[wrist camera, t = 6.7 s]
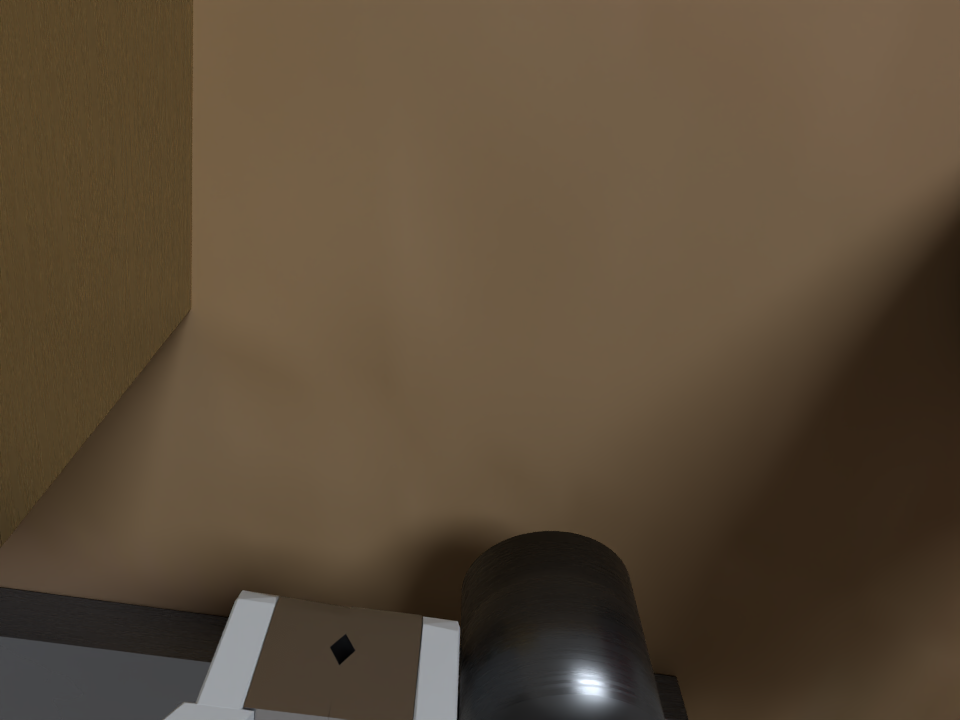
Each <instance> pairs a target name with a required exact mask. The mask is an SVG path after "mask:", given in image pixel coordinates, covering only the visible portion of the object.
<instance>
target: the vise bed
mask: <svg viewBox="0 0 960 720" xmlns="http://www.w3.org/2000/svg"><path fill="white" fill-rule="evenodd" d="M227 621H228V618H227V617H220V616H212V615H204V614H197V613H189V612H182V611H174V610H167V609H159V608H152V607H144V606H136V605H129V604H121V603H114V602H106V601H99V600H91V599H83V598H76V597H68V596H61V595H53V594H46V593H38V592H31V591H23V590H15V589H8V588H0V720H163V719H164V718H165V717H166V716H167V715H169V714H170V713H171V712H172V711H173V710H175V709H176V708H177V707H178V706H179V705H181V704H182V703H183V702H191V703H196V701H197V698H198V696H199V693H200V690H201V688H202V685H203V683H204V680H205V677H206V675H207V672H208V670H209V667H210V665H211V662H212V659H213V657H214V654H215V652H216V649H217V646H218V644H219V641H220V639H221V636H222V634H223V631H224V628H225V626H226V623H227ZM460 657H461V648H459V672H458V700H457V719H459V712H460ZM654 677H655V681H656V685H657V689H658V693H659V697H660V701H661V705H662V709H663V713H664V717H665V720H688V716H687V713H686V709H685V706H684V702H683V699H682V695H681V691H680V688H679V684H678V681H677V677H673V676H666V675H658V674H654Z"/></svg>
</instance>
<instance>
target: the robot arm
mask: <svg viewBox="0 0 960 720" xmlns="http://www.w3.org/2000/svg"><path fill="white" fill-rule="evenodd" d="M459 645H460V627H459V624H458V621H453V620H446V619H438V618H431V617H424V616H423V617H422V616H421V615H416V614H408V613H400V612H392V611H384V610H376V609H368V608H360V607H351V608H349V607H343V606H337V605H331V604H325V603H319V602H313V601H307V600H301V599H295V598H290V597H284V596H277V595H271V594H264V593H257V592H251V591H244V590H242V591H241V593H240V594H239V596H238V597H237V599H236V600H235V603H234V605H233V608H232V610H231V613H230V615H229V618H228V621H227V623H226V626H225V628H224V631H223V634H222V636H221V639H220V641H219V644H218V646H217V649H216V652H215V654H214V657H213V659H212V662H211V665H210V667H209V670H208V672H207V675H206V677H205V680H204V683H203V685H202V688H201V690H200V693H199V696H198V698H197V701H196V703H191V702H183V703H182V704H181V705H179V706H178V707H177V708H176V709H175V710H173V711H172V712H171V713H170V714H169V715H167V716H166V717H165V718H164V719H163V720H457V700H458V672H459Z"/></svg>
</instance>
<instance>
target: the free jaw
mask: <svg viewBox="0 0 960 720" xmlns="http://www.w3.org/2000/svg"><path fill="white" fill-rule="evenodd" d="M457 720H665V717H664V713H663V709H662V705H661V701H660V697H659V693H658V689H657V685H656V681H655V677H654V673H653V669H652V665H651V661H650V657H649V653H648V649H647V645H646V641H645V637H644V633H643V629H642V625H641V621H640V617H639V613H638V609H637V605H636V601H635V597H634V593H633V589H632V585H631V581H630V577H629V574H628V571H627V569H626V567H625V565H624V564H623V562H622V560H621V559H620V558H619V557H618V556H617V555H616V554H615V553H614V552H613V551H612V550H611V549H609V548H608V547H606V546H605V545H603V544H602V543H600V542H598V541H596V540H593V539H591V538H589V537H585V536H582V535H579V534H574V533H569V532H560V531H542V532H533V533H527V534H522V535H519V536H515V537H512V538H509V539H507V540H505V541H502V542H500V543H498V544H496V545H495V546H493V547H491V548H490V549H488V550H487V551H485V552H484V553H483V554H482V555H481V556H480V557H478V558H477V559H476V560H475V562H474V563H473V564H472V565H471V567H470V568H469V570H468V572H467V573H466V576H465V578H464V581H463V585H462V602H461V657H460V712H459V719H457Z"/></svg>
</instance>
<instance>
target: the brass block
mask: <svg viewBox="0 0 960 720" xmlns="http://www.w3.org/2000/svg"><path fill="white" fill-rule="evenodd" d="M192 91H193V0H0V548H1V547H2V545H3V544H4V543H5V542H6V540H7V539H8V538H9V537H10V535H11V534H12V533H13V531H14V530H15V529H16V528H17V526H18V525H19V524H20V523H21V521H22V520H23V519H24V518H25V516H26V515H27V514H28V513H29V511H30V510H31V509H32V508H33V506H34V505H35V504H36V503H37V501H38V500H39V499H40V498H41V496H42V495H43V494H44V493H45V491H46V490H47V489H48V488H49V486H50V485H51V484H52V483H53V481H54V480H55V479H56V478H57V476H58V475H59V474H60V473H61V471H62V470H63V469H64V467H65V466H66V465H67V464H68V462H69V461H70V460H71V459H72V457H73V456H74V455H75V454H76V452H77V451H78V450H79V449H80V447H81V446H82V445H83V444H84V442H85V441H86V440H87V439H88V437H89V436H90V435H91V434H92V432H93V431H94V430H95V429H96V427H97V426H98V425H99V424H100V422H101V421H102V420H103V419H104V417H105V416H106V415H107V414H108V412H109V411H110V410H111V409H112V407H113V406H114V405H115V403H116V402H117V401H118V400H119V398H120V397H121V396H122V395H123V393H124V392H125V391H126V390H127V388H128V387H129V386H130V385H131V383H132V382H133V381H134V380H135V378H136V377H137V376H138V375H139V373H140V372H141V371H142V370H143V368H144V367H145V366H146V365H147V363H148V362H149V361H150V360H151V358H152V357H153V356H154V355H155V353H156V352H157V351H158V350H159V348H160V347H161V346H162V345H163V343H164V342H165V341H166V339H167V338H168V337H169V336H170V334H171V333H172V332H173V331H174V329H175V328H176V327H177V326H178V324H179V323H180V322H181V321H182V319H183V318H184V317H185V316H186V314H187V313H188V312H189V311H190V309H191V267H192Z"/></svg>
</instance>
